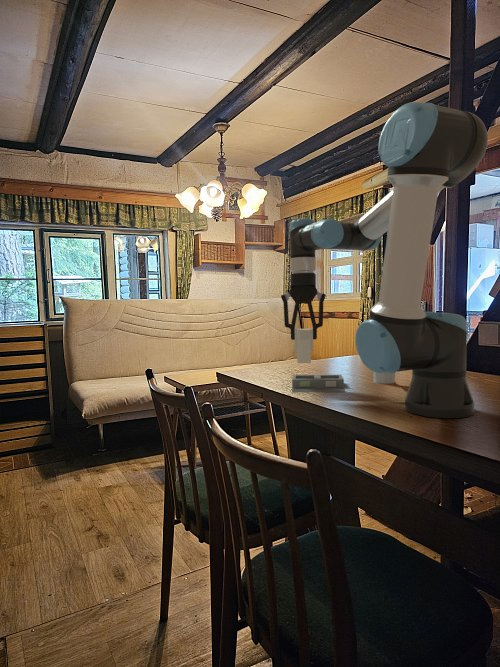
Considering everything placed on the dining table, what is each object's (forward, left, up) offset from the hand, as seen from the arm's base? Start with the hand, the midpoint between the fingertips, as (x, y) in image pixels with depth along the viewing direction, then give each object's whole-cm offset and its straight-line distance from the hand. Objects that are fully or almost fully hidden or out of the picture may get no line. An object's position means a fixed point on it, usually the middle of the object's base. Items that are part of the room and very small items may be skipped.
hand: (304, 350), depth 132 cm
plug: (0, 0, -4) cm, 4 cm away
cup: (+5, -24, -12) cm, 28 cm away
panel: (0, -4, -12) cm, 12 cm away
